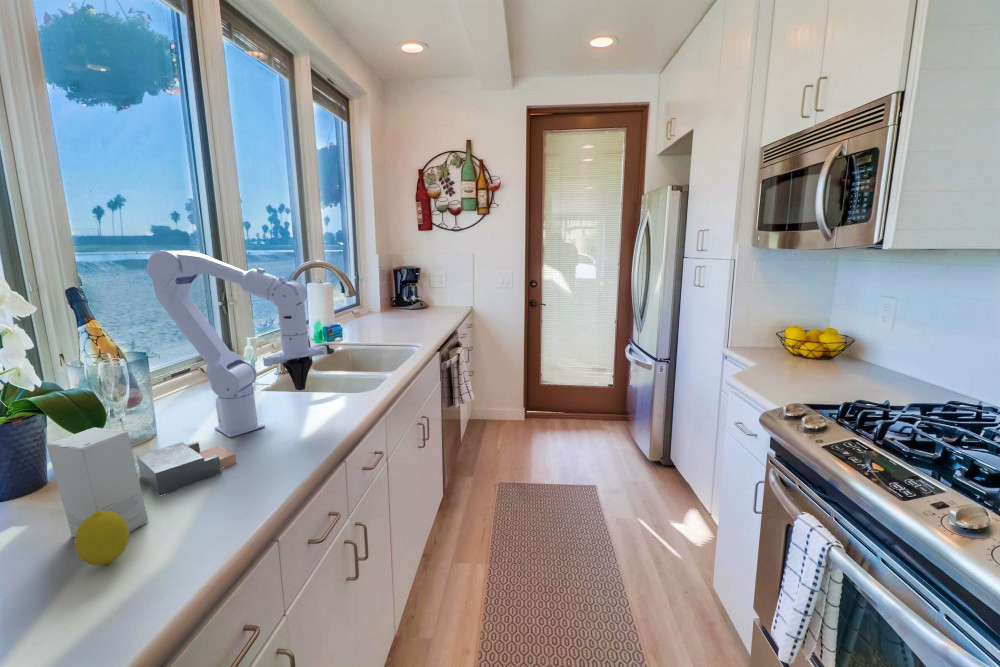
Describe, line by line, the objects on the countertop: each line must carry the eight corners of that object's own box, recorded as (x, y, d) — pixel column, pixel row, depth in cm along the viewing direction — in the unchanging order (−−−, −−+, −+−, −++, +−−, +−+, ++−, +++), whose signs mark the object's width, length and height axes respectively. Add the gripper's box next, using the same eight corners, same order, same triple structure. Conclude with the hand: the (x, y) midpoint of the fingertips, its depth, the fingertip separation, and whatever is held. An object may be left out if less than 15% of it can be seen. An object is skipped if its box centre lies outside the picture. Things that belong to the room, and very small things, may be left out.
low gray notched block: (140, 476, 87) (136, 455, 86) (199, 457, 94) (196, 437, 93) (159, 496, 80) (155, 473, 79) (221, 473, 87) (218, 452, 86)
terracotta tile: (152, 481, 86) (150, 469, 85) (219, 456, 96) (217, 446, 95) (169, 491, 82) (167, 479, 82) (236, 464, 92) (235, 453, 92)
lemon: (103, 580, 59) (91, 526, 58) (70, 575, 60) (57, 521, 59) (143, 553, 65) (134, 502, 63) (112, 548, 66) (102, 498, 64)
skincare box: (149, 522, 72) (132, 430, 69) (102, 548, 66) (81, 449, 63) (114, 513, 75) (96, 424, 72) (65, 537, 69) (44, 441, 66)
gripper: (271, 340, 98) (278, 400, 100) (331, 330, 109) (336, 384, 111) (256, 337, 102) (263, 394, 105) (316, 327, 113) (321, 379, 116)
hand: (300, 389), depth 108 cm, fingers closed
